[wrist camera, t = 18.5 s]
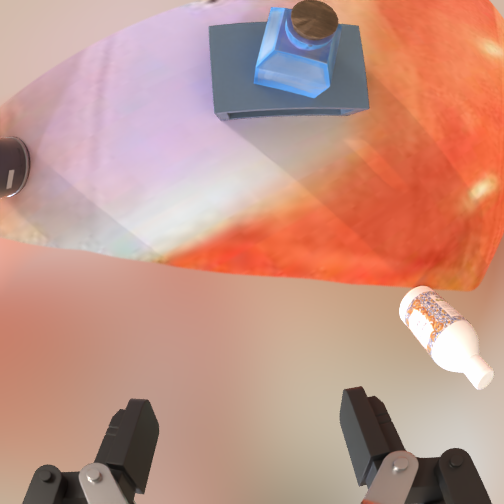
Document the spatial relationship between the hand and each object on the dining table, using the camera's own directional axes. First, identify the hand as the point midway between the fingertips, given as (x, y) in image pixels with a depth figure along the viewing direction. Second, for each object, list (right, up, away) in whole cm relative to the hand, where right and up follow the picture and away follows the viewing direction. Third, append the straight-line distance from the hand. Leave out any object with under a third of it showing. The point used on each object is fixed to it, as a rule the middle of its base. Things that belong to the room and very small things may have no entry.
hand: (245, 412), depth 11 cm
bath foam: (+26, -2, +33) cm, 42 cm away
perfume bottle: (+4, +25, +16) cm, 30 cm away
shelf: (+4, +28, +23) cm, 36 cm away
